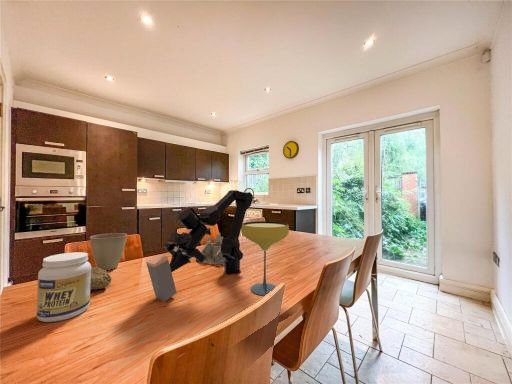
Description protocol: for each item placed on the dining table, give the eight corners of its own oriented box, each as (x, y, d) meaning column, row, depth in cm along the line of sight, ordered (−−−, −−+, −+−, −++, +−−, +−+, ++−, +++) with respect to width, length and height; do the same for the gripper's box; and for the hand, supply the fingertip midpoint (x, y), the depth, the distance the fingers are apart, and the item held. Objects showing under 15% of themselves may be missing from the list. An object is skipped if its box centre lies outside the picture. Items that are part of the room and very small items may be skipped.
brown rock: (70, 285, 90) (63, 292, 74) (76, 265, 92) (70, 267, 76) (108, 284, 97) (109, 291, 80) (112, 265, 99) (114, 268, 83)
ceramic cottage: (200, 256, 128) (201, 231, 127) (228, 257, 130) (229, 231, 129) (196, 267, 112) (197, 238, 112) (228, 267, 114) (230, 238, 114)
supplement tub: (26, 328, 58) (28, 264, 59) (48, 307, 70) (49, 253, 70) (83, 318, 63) (84, 259, 64) (94, 300, 74) (96, 249, 75)
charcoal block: (168, 289, 80) (159, 254, 77) (176, 293, 77) (167, 256, 74) (156, 297, 76) (145, 261, 74) (164, 302, 73) (153, 264, 71)
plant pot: (127, 270, 104) (128, 236, 105) (88, 276, 96) (88, 239, 96) (125, 262, 117) (125, 231, 117) (90, 266, 108) (90, 234, 109)
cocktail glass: (245, 279, 94) (246, 220, 95) (288, 281, 92) (288, 221, 92) (236, 298, 76) (237, 226, 77) (288, 302, 74) (289, 228, 74)
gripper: (168, 221, 88) (139, 255, 79) (198, 226, 77) (168, 265, 67) (184, 238, 94) (159, 271, 85) (215, 245, 83) (189, 283, 74)
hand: (168, 272), depth 77 cm, fingers closed
